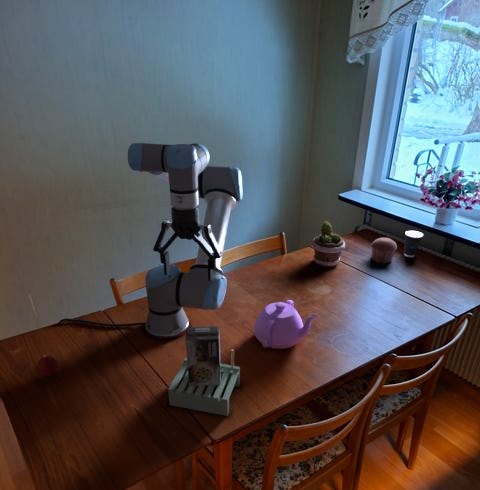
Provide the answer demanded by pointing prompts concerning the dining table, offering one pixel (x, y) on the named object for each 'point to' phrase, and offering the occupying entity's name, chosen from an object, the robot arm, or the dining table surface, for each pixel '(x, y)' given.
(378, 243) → the muffin
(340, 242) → the flowerpot
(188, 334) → the coffee box
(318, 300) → the dining table surface
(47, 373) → the onion
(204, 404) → the rack
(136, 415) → the dining table surface
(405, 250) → the dixie cup
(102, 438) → the dining table surface
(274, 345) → the teapot
